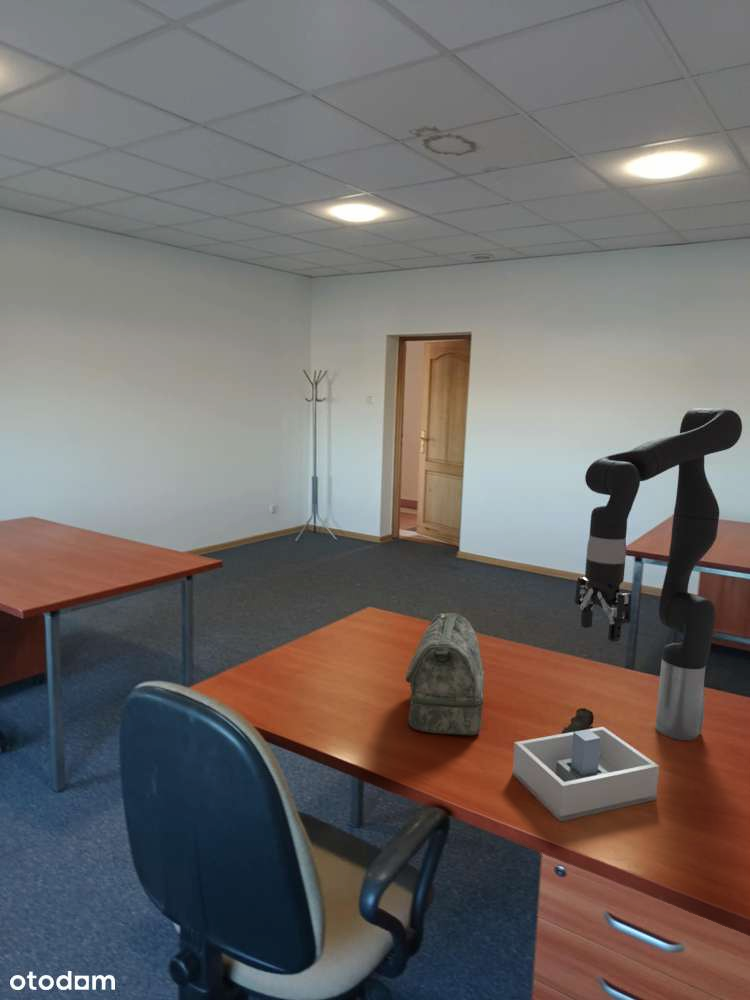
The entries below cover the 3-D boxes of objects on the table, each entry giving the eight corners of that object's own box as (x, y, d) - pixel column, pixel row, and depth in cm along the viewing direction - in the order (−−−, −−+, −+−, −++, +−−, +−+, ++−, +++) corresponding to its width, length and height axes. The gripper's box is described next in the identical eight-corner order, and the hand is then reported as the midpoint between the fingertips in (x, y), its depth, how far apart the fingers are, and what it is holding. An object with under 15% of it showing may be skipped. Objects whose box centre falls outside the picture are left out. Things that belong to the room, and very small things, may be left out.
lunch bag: (416, 685, 174) (419, 606, 170) (484, 693, 170) (489, 613, 167) (400, 732, 148) (403, 641, 145) (480, 743, 145) (485, 649, 142)
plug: (584, 775, 131) (588, 729, 130) (596, 785, 128) (600, 737, 126) (569, 778, 130) (573, 731, 128) (581, 788, 126) (585, 740, 125)
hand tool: (576, 721, 157) (577, 702, 156) (593, 725, 155) (594, 707, 154) (548, 754, 141) (549, 734, 141) (566, 760, 139) (567, 740, 139)
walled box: (600, 757, 140) (603, 726, 139) (655, 799, 125) (659, 765, 124) (512, 774, 133) (514, 742, 132) (560, 821, 118) (562, 786, 117)
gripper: (645, 565, 127) (638, 644, 130) (597, 549, 141) (592, 621, 143) (614, 567, 125) (607, 647, 127) (568, 551, 138) (563, 624, 140)
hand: (599, 633), depth 135 cm, fingers open, 8 cm apart
